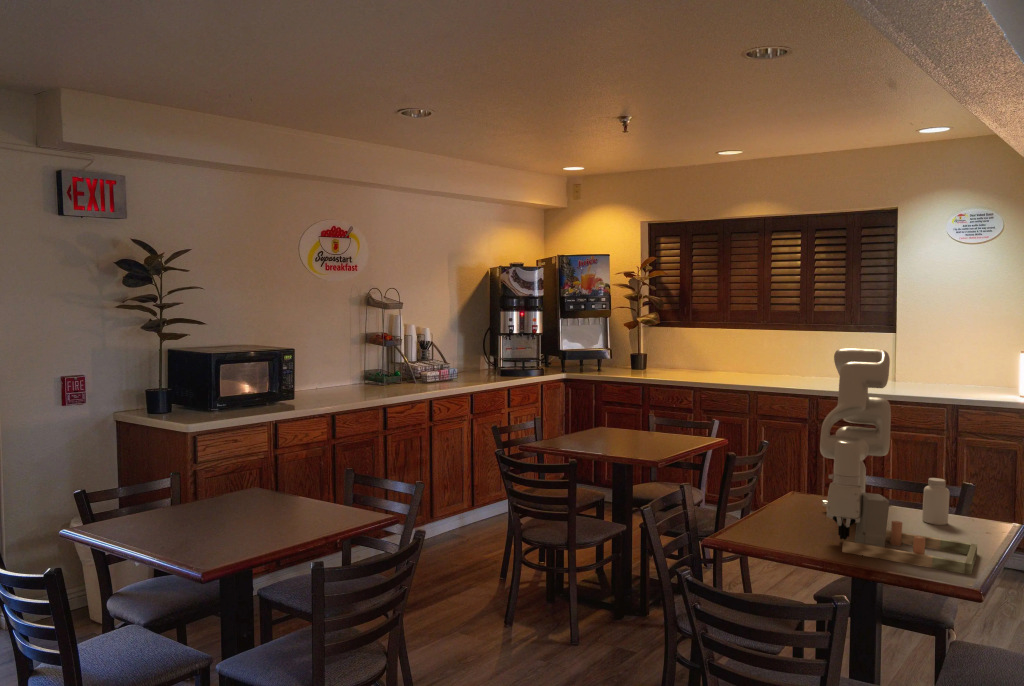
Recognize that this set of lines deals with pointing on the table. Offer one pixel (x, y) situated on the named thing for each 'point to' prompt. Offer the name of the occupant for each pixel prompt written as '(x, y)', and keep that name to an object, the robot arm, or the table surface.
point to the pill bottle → (936, 502)
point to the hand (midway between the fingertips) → (843, 538)
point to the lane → (920, 558)
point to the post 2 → (919, 545)
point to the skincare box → (872, 520)
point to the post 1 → (896, 533)
